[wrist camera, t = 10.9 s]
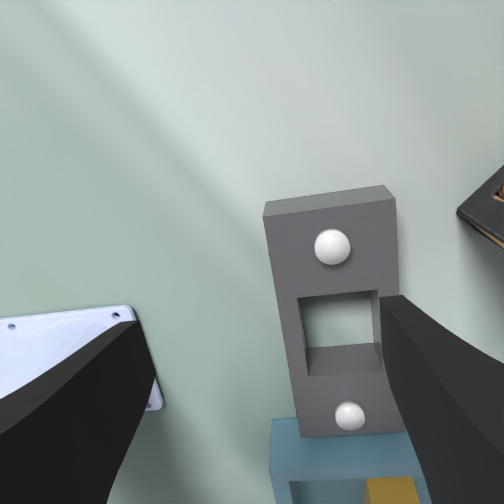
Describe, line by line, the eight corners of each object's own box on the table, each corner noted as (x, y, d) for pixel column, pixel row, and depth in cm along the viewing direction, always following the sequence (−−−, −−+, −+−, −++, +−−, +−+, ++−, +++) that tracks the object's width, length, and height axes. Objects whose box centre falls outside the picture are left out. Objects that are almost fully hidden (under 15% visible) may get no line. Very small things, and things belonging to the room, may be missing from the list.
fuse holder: (299, 406, 26) (300, 445, 23) (265, 201, 21) (261, 220, 18) (394, 400, 25) (407, 440, 22) (383, 185, 20) (398, 201, 17)
